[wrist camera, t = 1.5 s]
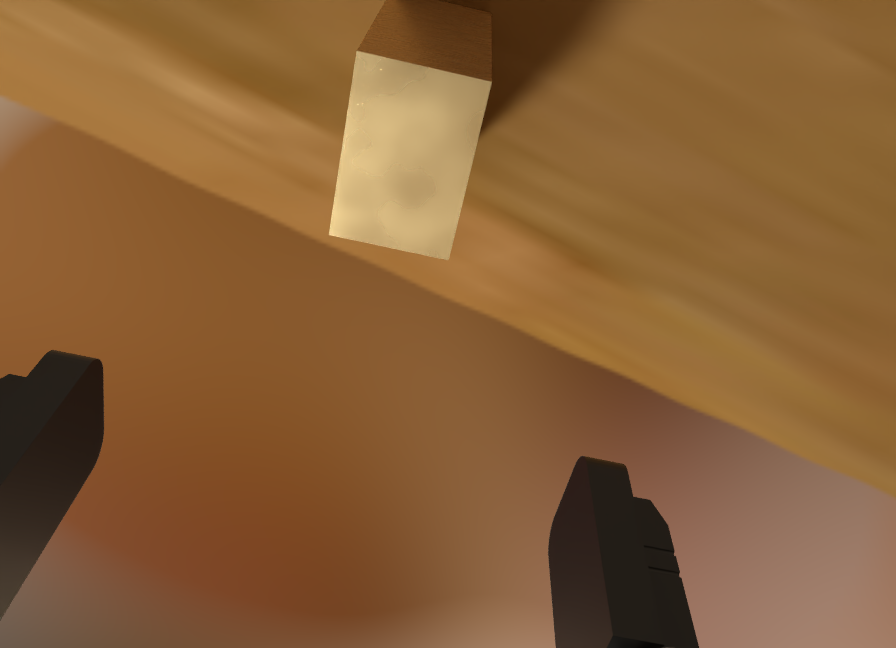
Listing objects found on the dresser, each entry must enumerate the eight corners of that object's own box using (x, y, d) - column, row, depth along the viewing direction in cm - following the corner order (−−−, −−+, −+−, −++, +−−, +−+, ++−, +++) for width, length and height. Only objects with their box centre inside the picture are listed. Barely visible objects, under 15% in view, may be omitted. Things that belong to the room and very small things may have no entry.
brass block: (491, 12, 32) (491, 81, 24) (458, 154, 35) (448, 260, 27) (392, -11, 32) (356, 50, 23) (367, 134, 35) (328, 234, 26)
